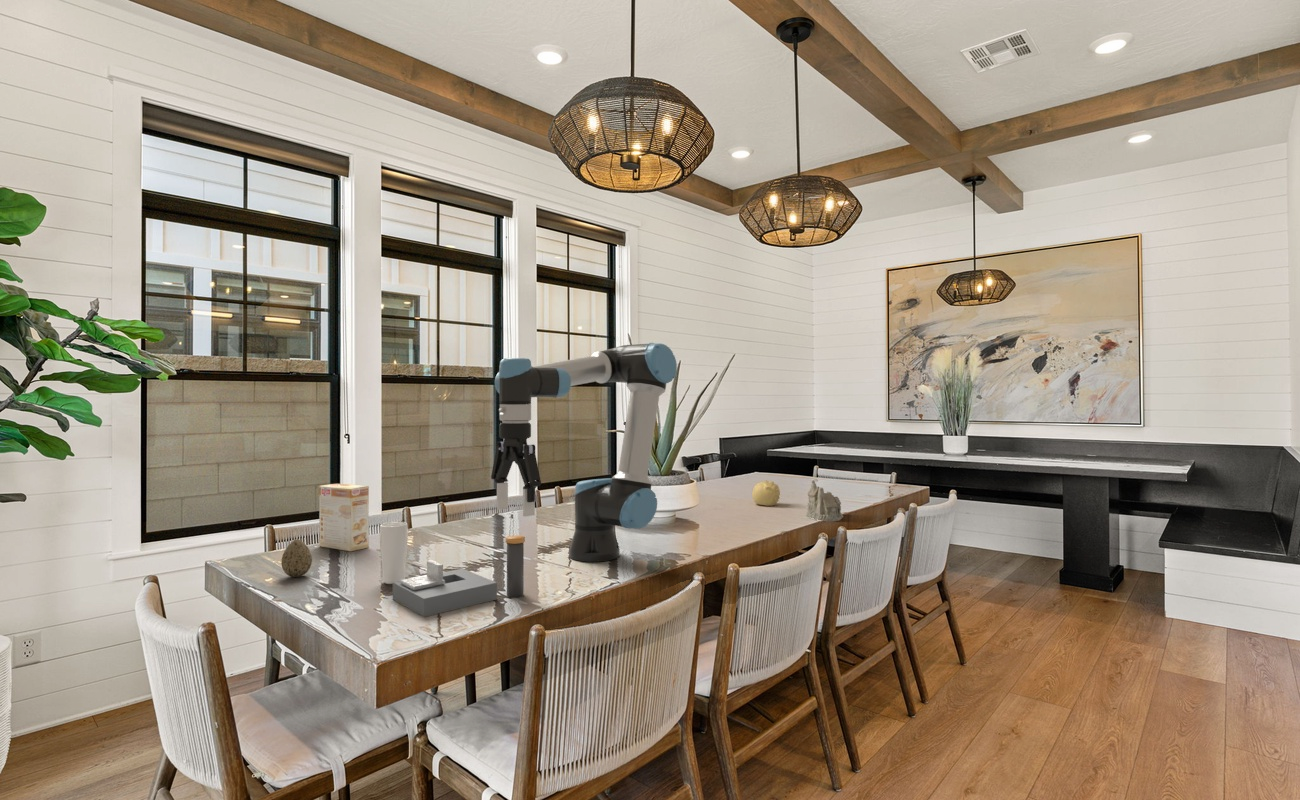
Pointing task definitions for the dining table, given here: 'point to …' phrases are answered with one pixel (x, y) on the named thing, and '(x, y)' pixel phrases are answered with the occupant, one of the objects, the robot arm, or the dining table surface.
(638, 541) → the dining table surface
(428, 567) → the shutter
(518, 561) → the plug
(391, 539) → the drinking glass
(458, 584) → the socket block
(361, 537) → the coffeecake box
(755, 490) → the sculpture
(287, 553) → the decorative egg
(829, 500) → the ceramic cottage
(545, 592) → the dining table surface
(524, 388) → the robot arm
